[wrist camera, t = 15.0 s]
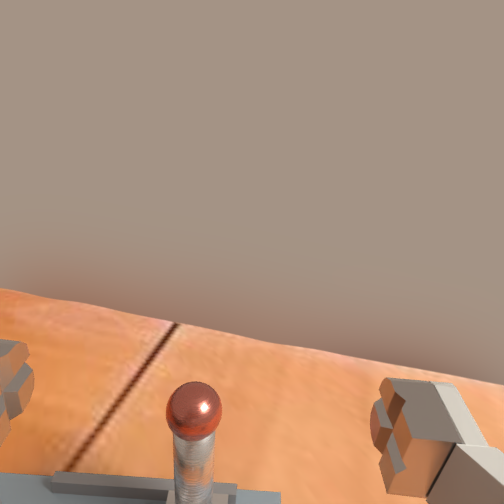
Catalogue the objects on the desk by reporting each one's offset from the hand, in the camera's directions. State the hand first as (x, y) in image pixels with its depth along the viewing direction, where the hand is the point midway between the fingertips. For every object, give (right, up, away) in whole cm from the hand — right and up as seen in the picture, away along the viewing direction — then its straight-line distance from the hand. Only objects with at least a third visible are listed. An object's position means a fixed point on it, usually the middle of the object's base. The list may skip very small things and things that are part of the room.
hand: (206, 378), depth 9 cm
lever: (-4, -21, +21) cm, 30 cm away
